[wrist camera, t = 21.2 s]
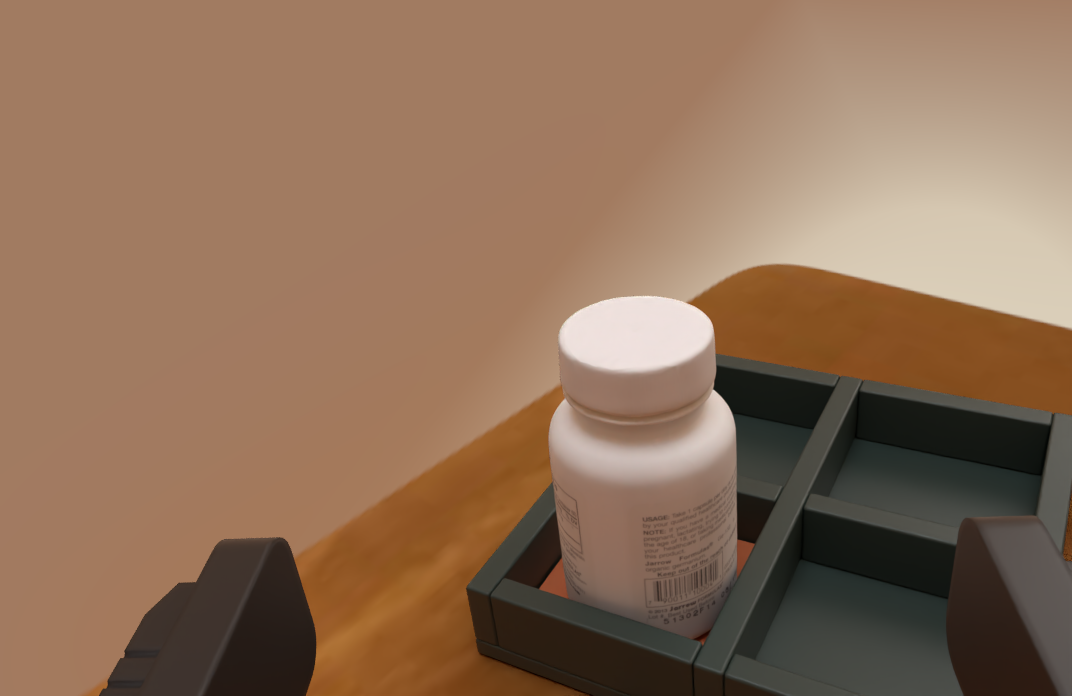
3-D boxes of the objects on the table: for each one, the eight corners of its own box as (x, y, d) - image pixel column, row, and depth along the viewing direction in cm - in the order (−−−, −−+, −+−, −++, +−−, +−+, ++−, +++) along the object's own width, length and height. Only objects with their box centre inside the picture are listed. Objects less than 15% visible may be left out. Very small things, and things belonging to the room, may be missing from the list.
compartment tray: (477, 653, 24) (464, 587, 23) (667, 399, 34) (664, 343, 32) (1014, 855, 19) (1032, 780, 17) (1068, 482, 28) (1082, 416, 27)
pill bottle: (757, 553, 25) (760, 296, 22) (705, 675, 22) (698, 397, 18) (606, 517, 27) (584, 274, 24) (538, 624, 24) (499, 363, 20)
